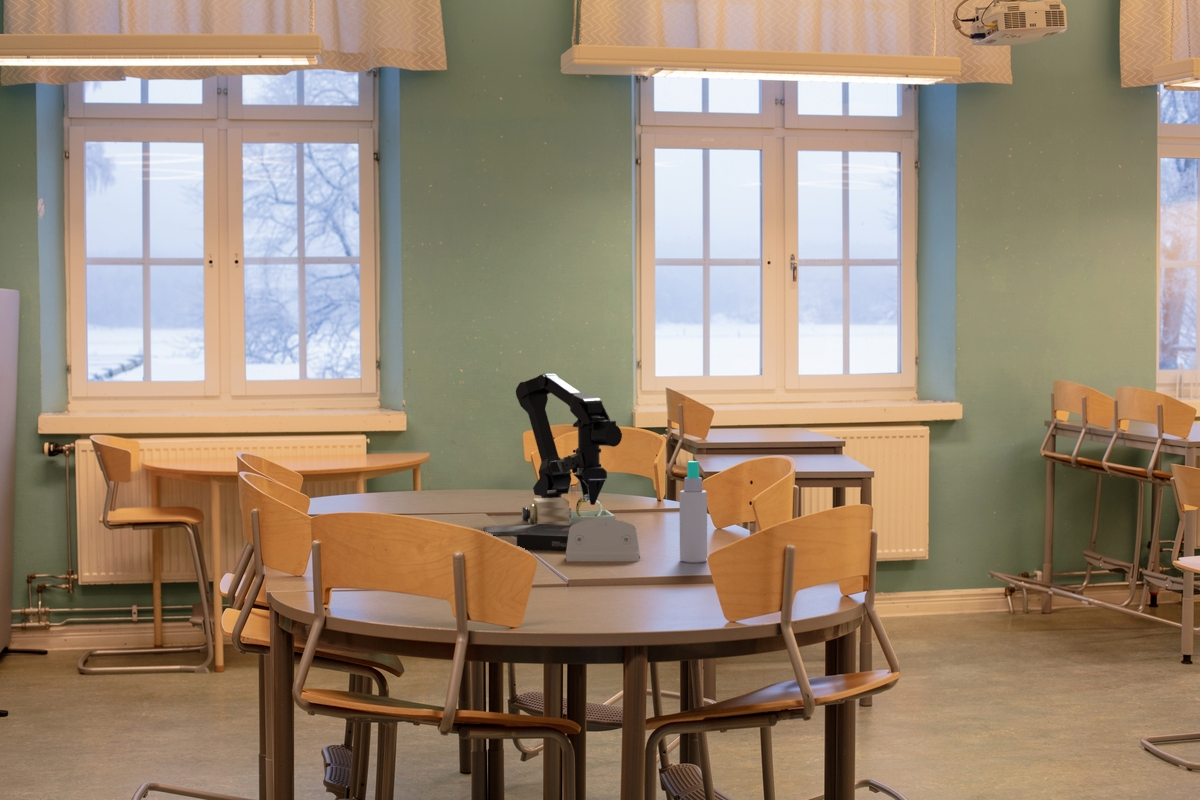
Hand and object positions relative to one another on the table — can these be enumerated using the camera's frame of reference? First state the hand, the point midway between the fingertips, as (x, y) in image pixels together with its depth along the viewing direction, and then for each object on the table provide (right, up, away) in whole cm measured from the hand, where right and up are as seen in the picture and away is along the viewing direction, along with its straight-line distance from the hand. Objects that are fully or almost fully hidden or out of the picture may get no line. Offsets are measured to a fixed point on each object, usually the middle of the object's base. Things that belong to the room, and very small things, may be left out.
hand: (589, 502), depth 317 cm
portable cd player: (-6, -8, -33) cm, 35 cm away
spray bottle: (+23, -8, -56) cm, 61 cm away
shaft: (-11, -4, -13) cm, 17 cm away
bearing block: (-14, -6, -14) cm, 20 cm away
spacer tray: (0, -6, 0) cm, 6 cm away
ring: (0, -5, 0) cm, 5 cm away
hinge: (+4, -8, -52) cm, 53 cm away
